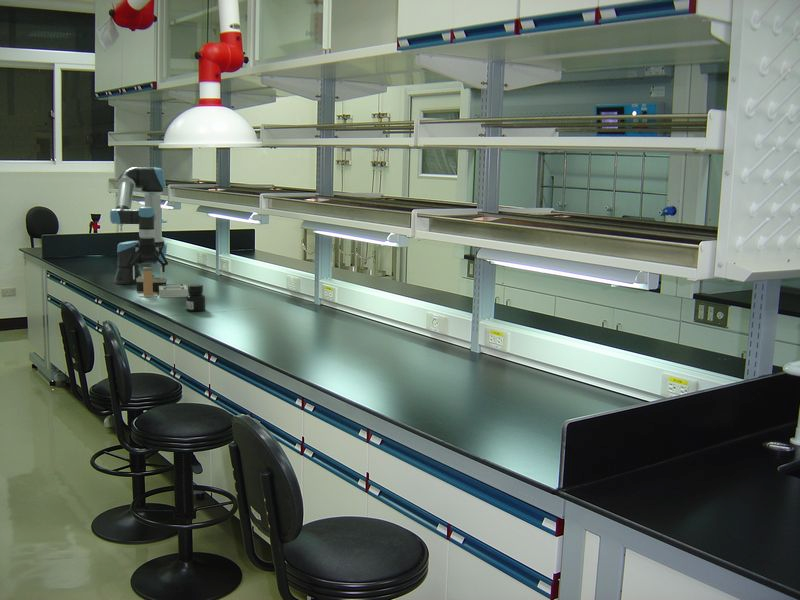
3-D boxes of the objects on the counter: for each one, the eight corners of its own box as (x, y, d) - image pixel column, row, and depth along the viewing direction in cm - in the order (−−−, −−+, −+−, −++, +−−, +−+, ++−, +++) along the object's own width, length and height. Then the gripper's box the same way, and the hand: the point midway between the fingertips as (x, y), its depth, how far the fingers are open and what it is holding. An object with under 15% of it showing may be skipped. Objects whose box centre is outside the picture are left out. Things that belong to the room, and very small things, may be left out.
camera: (170, 290, 432) (169, 272, 431) (165, 293, 424) (165, 274, 422) (140, 290, 432) (140, 271, 431) (135, 292, 424) (134, 273, 422)
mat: (139, 294, 418) (138, 293, 418) (157, 293, 421) (157, 293, 421) (139, 297, 410) (139, 296, 410) (157, 296, 413) (157, 296, 413)
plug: (143, 294, 417) (142, 267, 415) (152, 293, 418) (152, 267, 416) (143, 295, 413) (142, 268, 410) (153, 295, 414) (152, 268, 412)
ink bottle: (184, 308, 382) (184, 284, 380) (203, 308, 385) (203, 283, 383) (187, 312, 373) (187, 287, 371) (206, 311, 376) (206, 286, 374)
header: (158, 293, 424) (158, 284, 423) (186, 292, 428) (186, 283, 427) (159, 297, 411) (159, 288, 410) (188, 296, 415) (187, 287, 414)
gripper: (120, 238, 403) (122, 280, 407) (172, 238, 411) (173, 279, 414) (121, 236, 410) (122, 278, 414) (171, 236, 418) (172, 277, 421)
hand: (147, 278), depth 414 cm, fingers open, 13 cm apart
